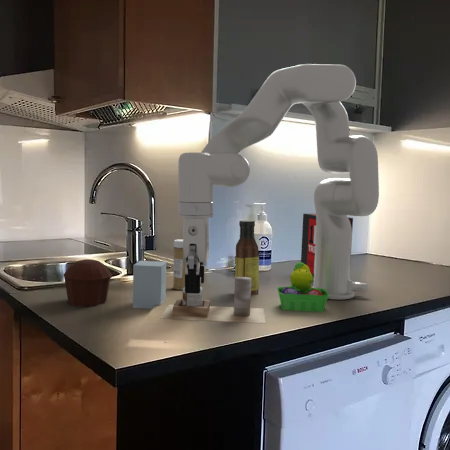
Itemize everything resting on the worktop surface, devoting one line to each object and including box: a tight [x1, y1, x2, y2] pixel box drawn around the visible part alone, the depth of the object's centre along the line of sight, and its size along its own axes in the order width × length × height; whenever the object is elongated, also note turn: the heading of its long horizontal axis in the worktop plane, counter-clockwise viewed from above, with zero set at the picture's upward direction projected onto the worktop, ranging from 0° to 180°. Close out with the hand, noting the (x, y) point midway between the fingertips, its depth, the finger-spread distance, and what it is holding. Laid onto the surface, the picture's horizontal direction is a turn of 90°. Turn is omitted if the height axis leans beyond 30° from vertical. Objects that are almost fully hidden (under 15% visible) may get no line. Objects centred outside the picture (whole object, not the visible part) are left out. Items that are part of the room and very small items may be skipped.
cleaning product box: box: [300, 213, 354, 280], centre depth 162 cm, size 16×9×20 cm, turn 16°
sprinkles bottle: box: [172, 238, 186, 291], centre depth 139 cm, size 5×5×14 cm
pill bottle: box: [182, 277, 204, 307], centre depth 111 cm, size 4×4×8 cm
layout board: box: [159, 277, 267, 324], centre depth 111 cm, size 22×12×9 cm, turn 88°
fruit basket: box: [276, 261, 329, 313], centre depth 119 cm, size 11×9×11 cm
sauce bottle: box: [234, 219, 260, 296], centre depth 133 cm, size 7×6×20 cm
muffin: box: [63, 258, 113, 307], centre depth 121 cm, size 12×11×10 cm
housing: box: [132, 260, 167, 310], centre depth 120 cm, size 6×6×10 cm
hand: (194, 287), depth 112 cm, fingers open, 9 cm apart
